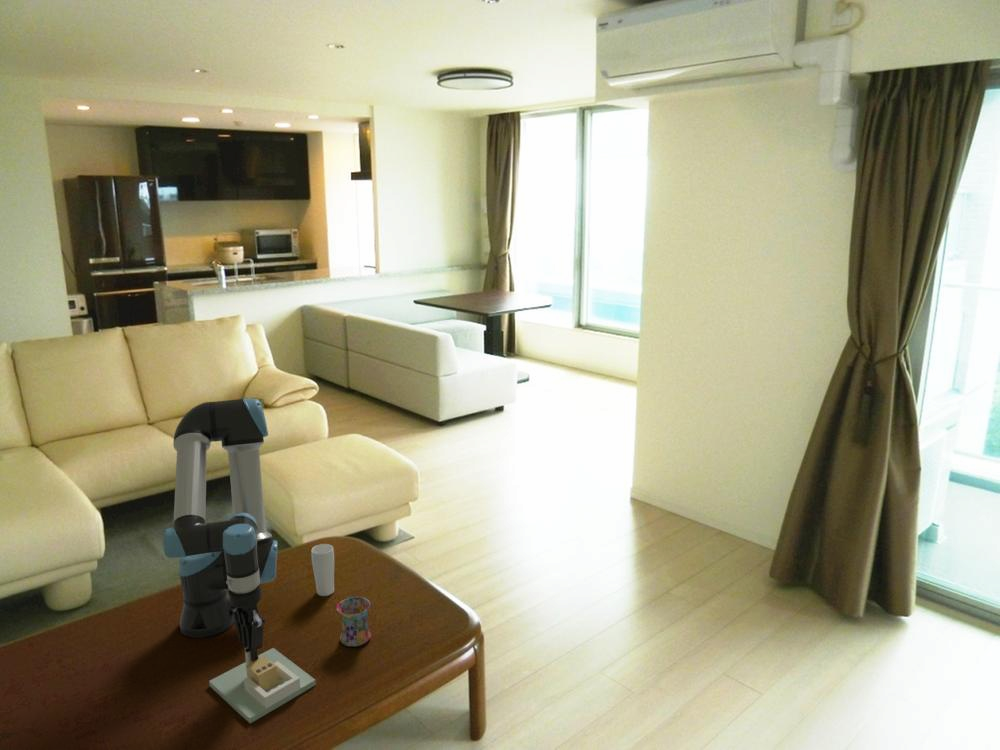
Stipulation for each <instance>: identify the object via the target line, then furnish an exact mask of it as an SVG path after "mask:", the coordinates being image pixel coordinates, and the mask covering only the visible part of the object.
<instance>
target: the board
mask: <svg viewBox="0 0 1000 750" xmlns="http://www.w3.org/2000/svg"><path fill="white" fill-rule="evenodd" d="M263 656H265V657H266V658H267V659H269V660H270V661H271V662H272V663H274V664H275V665H276V666H277V675H278V684H276V685H274V686H272V687H271V688H269V689H267V690H265V691H264V690H263V689H262V688H261V687H259V686H258V685H257V684H256V683H255V682H254V681H252V680H251V679H250V678H249V677H247V671H246V661H245V662H243V663H241V664H238V665H237V666H235V667H233V668H231V669H230V670H228V671H225V672H224V673H222V674H220V675H218V676H216V677H214V678H212V679H210V680H209V681H208V683H209V687H210V688H211V689H212V690H213V691H214V692H215V693H216V694H218V695H219V696H220V697H221V698H222V699H223V700H224V701H225V702H226V703H227V704H228V705H229V706H230V707H231V708H232V709H233V710H235V711H236V712H237V713H238V715H240V716H241V717H242V718H243V719H244V720H246V722H248V723H249V724H251V723H254V722H256V721H257V720H259V719H261V718H262V717H264V716H265V715H267V714H269V713H271V712H272V711H275V710H276V709H278V708H279V707H281V706H283V705H284V704H286V703H288V702H289V701H291V700H293V699H294V698H296V697H298V696H299V695H301V694H303V693H305V692H306V691H308V690H309V689H312V688H313V687H315V686H316V685H317V684H316V683H317V681H316V679H315V678H313V677H312V675H310V674H309V673H307V672H306V671H305V670H303V669H302V668H300V666H298V665H297V664H295V663H294V662H293V661H292V660H290V659H289V658H288V657H286V656H285V655H284V654H282V653H281V652H279V651H278V650H277V649H276V648H274V647H272V648H270V649H267V650H266V651H264V652H263V653H260V654H258V658H261V657H263Z"/></svg>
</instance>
